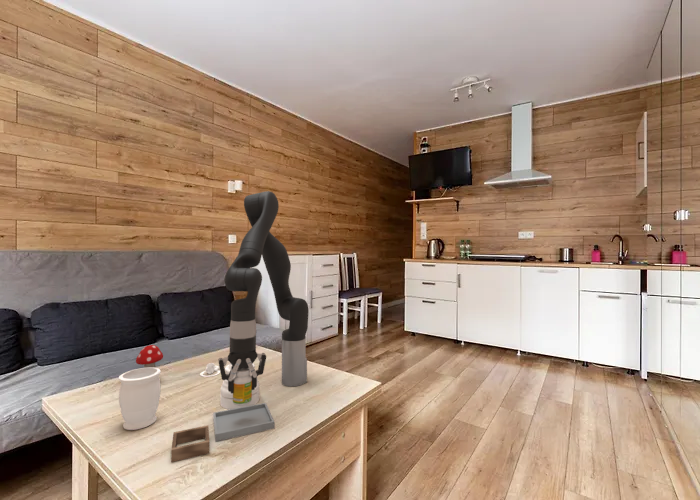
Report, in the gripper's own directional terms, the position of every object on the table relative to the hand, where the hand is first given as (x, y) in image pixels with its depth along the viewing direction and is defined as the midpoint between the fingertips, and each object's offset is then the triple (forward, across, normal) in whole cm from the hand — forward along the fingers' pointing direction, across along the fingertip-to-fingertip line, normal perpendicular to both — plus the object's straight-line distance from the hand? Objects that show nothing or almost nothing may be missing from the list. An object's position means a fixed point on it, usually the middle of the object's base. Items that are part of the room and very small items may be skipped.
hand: (242, 390), depth 99 cm
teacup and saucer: (+11, +4, -47) cm, 48 cm away
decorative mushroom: (+10, +29, -44) cm, 53 cm away
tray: (+10, 0, 0) cm, 10 cm away
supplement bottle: (+4, 0, 0) cm, 4 cm away
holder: (+10, +14, +7) cm, 18 cm away
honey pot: (+10, -1, -16) cm, 19 cm away
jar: (+10, +28, -13) cm, 32 cm away
